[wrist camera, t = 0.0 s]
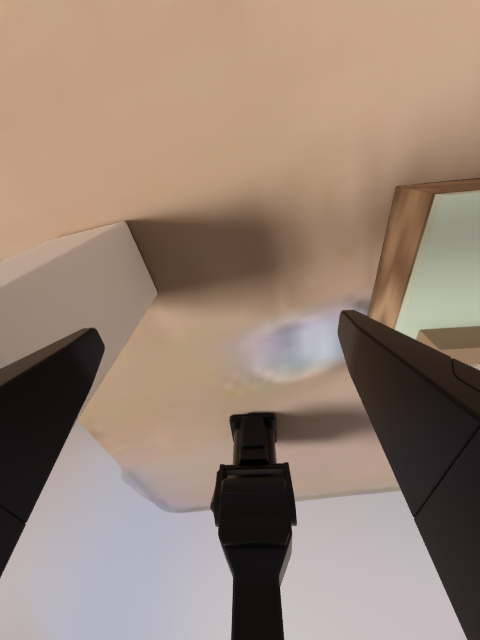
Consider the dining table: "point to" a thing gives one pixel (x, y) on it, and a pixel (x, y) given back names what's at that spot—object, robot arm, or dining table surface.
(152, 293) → the milk carton
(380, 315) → the box
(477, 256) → the lid
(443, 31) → the dining table surface
